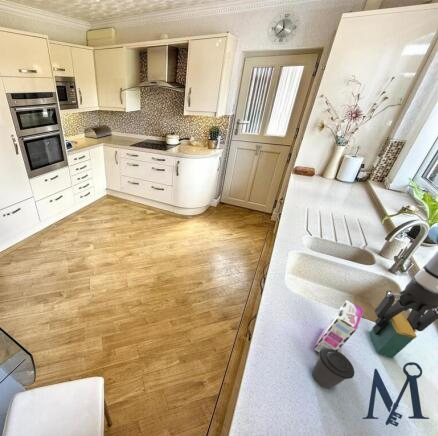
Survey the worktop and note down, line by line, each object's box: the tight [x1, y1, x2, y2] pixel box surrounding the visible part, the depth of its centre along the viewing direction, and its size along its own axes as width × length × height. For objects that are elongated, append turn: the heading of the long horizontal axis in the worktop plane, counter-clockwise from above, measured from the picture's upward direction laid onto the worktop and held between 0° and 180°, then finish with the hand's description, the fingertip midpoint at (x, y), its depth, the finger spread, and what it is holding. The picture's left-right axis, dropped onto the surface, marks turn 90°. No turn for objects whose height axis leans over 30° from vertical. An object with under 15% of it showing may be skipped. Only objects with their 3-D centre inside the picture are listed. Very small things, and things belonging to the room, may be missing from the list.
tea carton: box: [368, 313, 418, 359], centre depth 76 cm, size 12×4×8 cm
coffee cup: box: [311, 348, 355, 390], centre depth 66 cm, size 8×8×10 cm
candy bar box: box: [312, 299, 365, 355], centre depth 74 cm, size 11×5×16 cm, turn 131°
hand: (383, 334), depth 79 cm, fingers closed on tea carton, 4 cm apart
